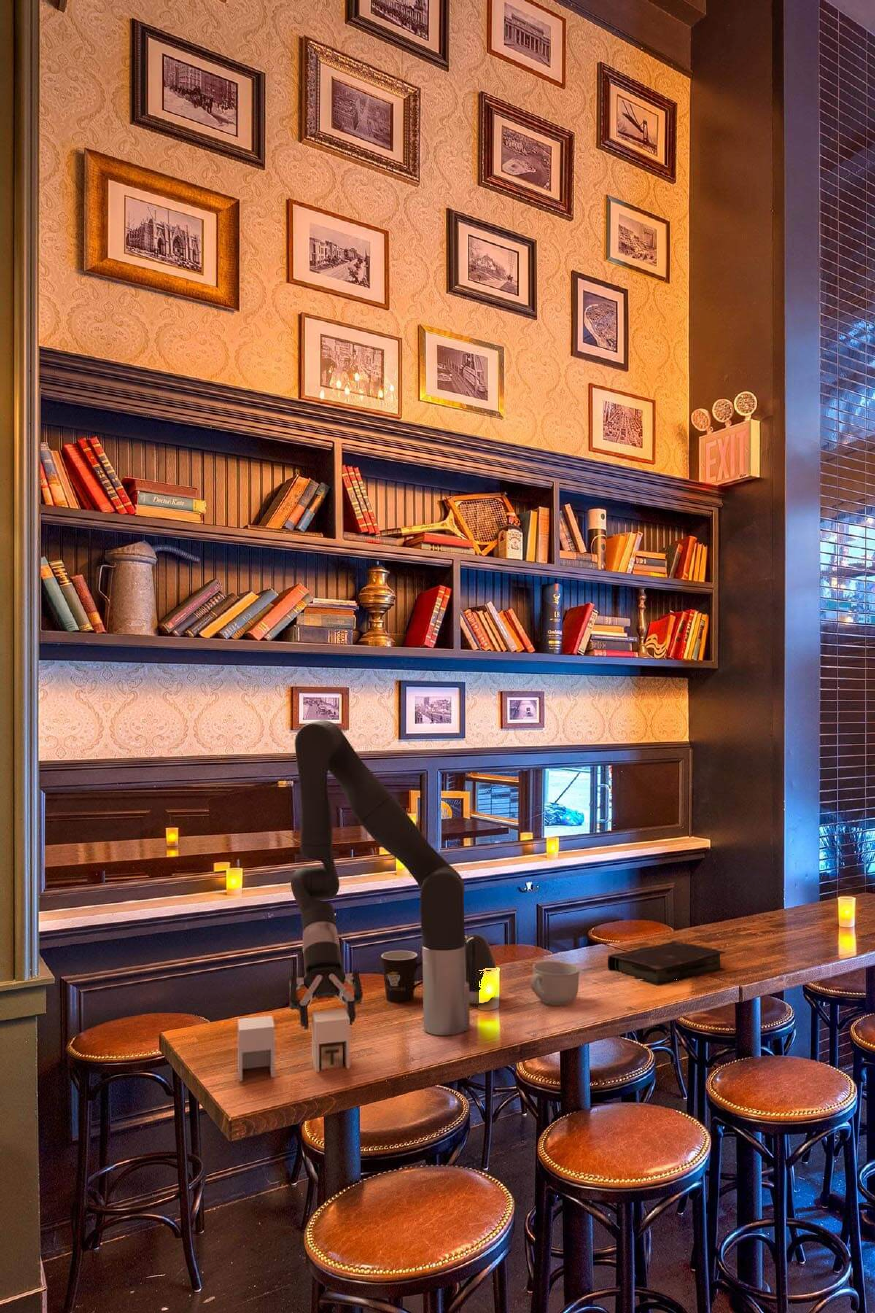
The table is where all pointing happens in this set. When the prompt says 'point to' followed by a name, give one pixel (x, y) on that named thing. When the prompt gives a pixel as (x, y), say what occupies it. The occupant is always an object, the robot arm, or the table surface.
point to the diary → (667, 962)
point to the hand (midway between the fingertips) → (328, 1025)
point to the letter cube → (331, 1055)
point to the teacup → (555, 982)
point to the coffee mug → (400, 975)
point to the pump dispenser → (476, 963)
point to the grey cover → (256, 1044)
